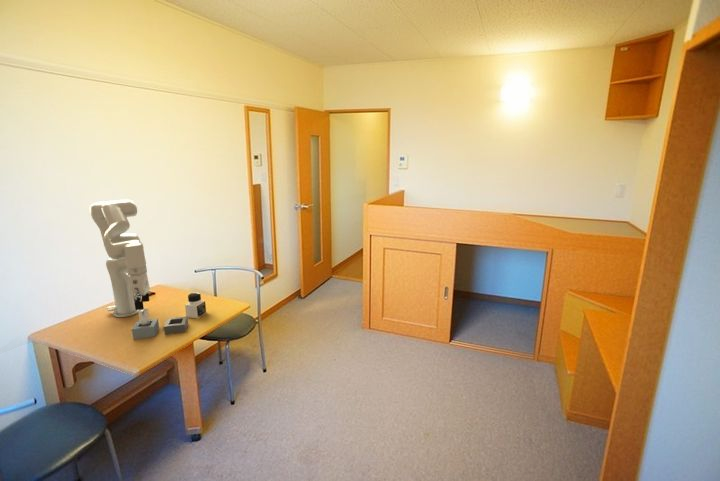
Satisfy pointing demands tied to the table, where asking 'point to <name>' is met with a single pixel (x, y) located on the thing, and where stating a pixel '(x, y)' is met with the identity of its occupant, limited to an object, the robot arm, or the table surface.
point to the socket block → (145, 329)
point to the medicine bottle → (195, 306)
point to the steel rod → (144, 317)
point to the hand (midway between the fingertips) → (142, 305)
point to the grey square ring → (176, 325)
